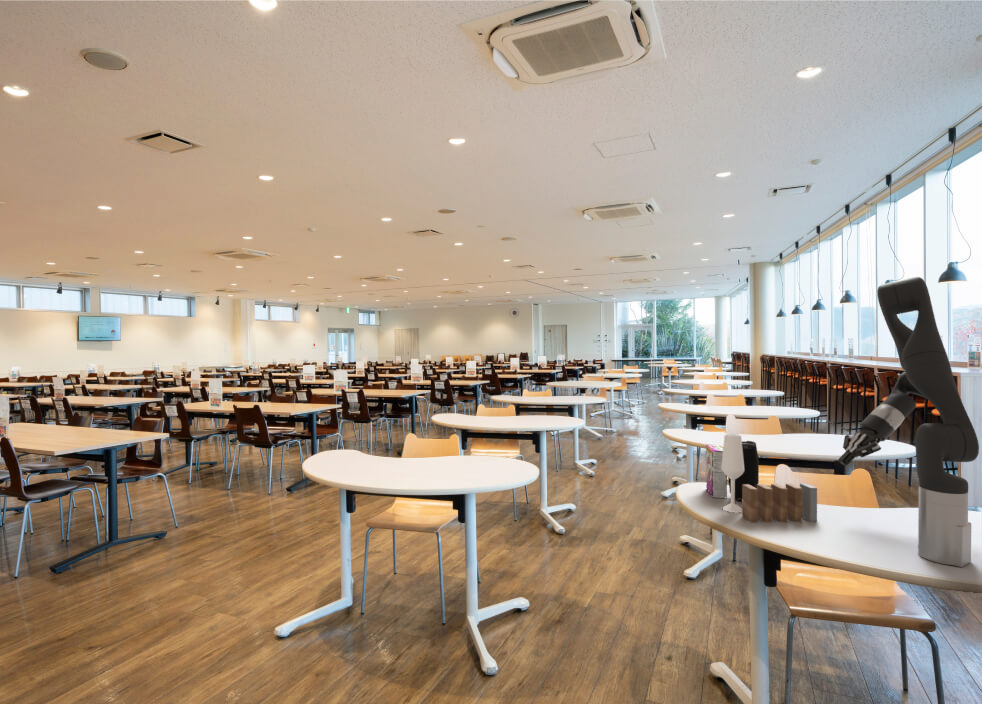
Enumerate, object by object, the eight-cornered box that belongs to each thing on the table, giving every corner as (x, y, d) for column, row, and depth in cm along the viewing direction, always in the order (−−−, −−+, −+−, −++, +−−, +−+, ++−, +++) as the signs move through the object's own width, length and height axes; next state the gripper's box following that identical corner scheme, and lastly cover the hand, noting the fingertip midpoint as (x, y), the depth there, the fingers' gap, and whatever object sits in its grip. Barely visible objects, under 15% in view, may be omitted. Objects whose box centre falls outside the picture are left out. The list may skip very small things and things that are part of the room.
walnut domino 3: (777, 516, 160) (777, 483, 160) (787, 521, 155) (787, 488, 155) (771, 516, 160) (771, 483, 160) (780, 521, 155) (780, 488, 155)
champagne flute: (716, 508, 168) (716, 434, 168) (730, 504, 172) (730, 432, 171) (735, 514, 162) (735, 437, 162) (749, 510, 166) (749, 435, 165)
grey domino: (806, 515, 161) (806, 483, 160) (817, 521, 156) (817, 487, 155) (799, 515, 161) (799, 483, 160) (810, 521, 156) (810, 487, 155)
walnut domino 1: (748, 516, 160) (748, 484, 160) (757, 522, 155) (757, 488, 155) (742, 516, 160) (742, 484, 160) (750, 522, 155) (750, 488, 155)
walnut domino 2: (763, 516, 160) (763, 484, 160) (772, 522, 155) (772, 488, 155) (756, 516, 160) (756, 484, 160) (765, 522, 155) (765, 488, 155)
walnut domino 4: (791, 515, 160) (792, 483, 160) (802, 521, 155) (802, 488, 155) (785, 516, 160) (785, 483, 160) (795, 521, 155) (795, 488, 155)
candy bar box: (705, 489, 190) (705, 444, 190) (719, 489, 189) (719, 444, 189) (711, 498, 179) (711, 450, 179) (727, 498, 178) (727, 451, 178)
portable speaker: (723, 496, 181) (723, 440, 180) (747, 494, 183) (747, 439, 182) (739, 503, 172) (739, 444, 172) (764, 502, 174) (764, 443, 174)
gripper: (857, 410, 165) (819, 449, 164) (890, 416, 151) (849, 459, 151) (873, 427, 165) (835, 466, 165) (908, 434, 152) (866, 477, 152)
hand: (842, 462), depth 158 cm, fingers closed
